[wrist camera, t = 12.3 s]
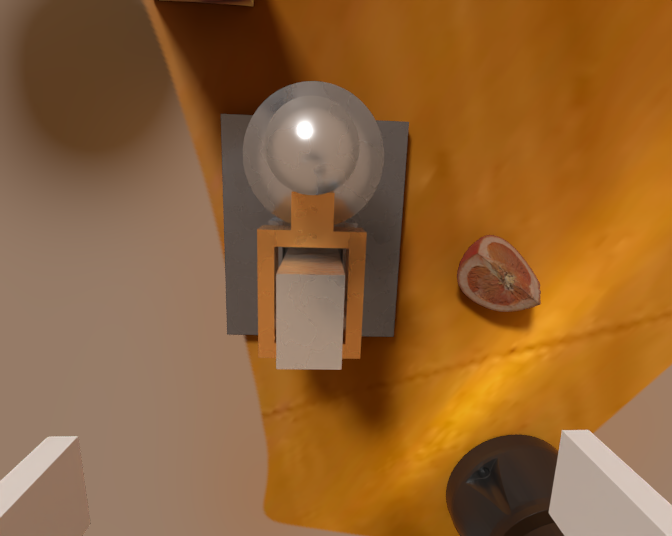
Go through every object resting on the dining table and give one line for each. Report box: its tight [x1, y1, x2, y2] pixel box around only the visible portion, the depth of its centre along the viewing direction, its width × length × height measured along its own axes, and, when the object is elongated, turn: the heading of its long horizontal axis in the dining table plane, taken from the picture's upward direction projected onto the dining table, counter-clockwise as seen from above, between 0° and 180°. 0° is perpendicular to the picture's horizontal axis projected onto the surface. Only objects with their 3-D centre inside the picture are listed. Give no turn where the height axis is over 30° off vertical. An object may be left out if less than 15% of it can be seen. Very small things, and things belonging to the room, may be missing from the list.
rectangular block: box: [276, 247, 345, 370], centre depth 30 cm, size 6×4×15 cm, turn 178°
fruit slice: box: [457, 235, 541, 312], centre depth 37 cm, size 8×7×5 cm
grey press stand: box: [221, 81, 409, 359], centre depth 29 cm, size 22×17×18 cm
